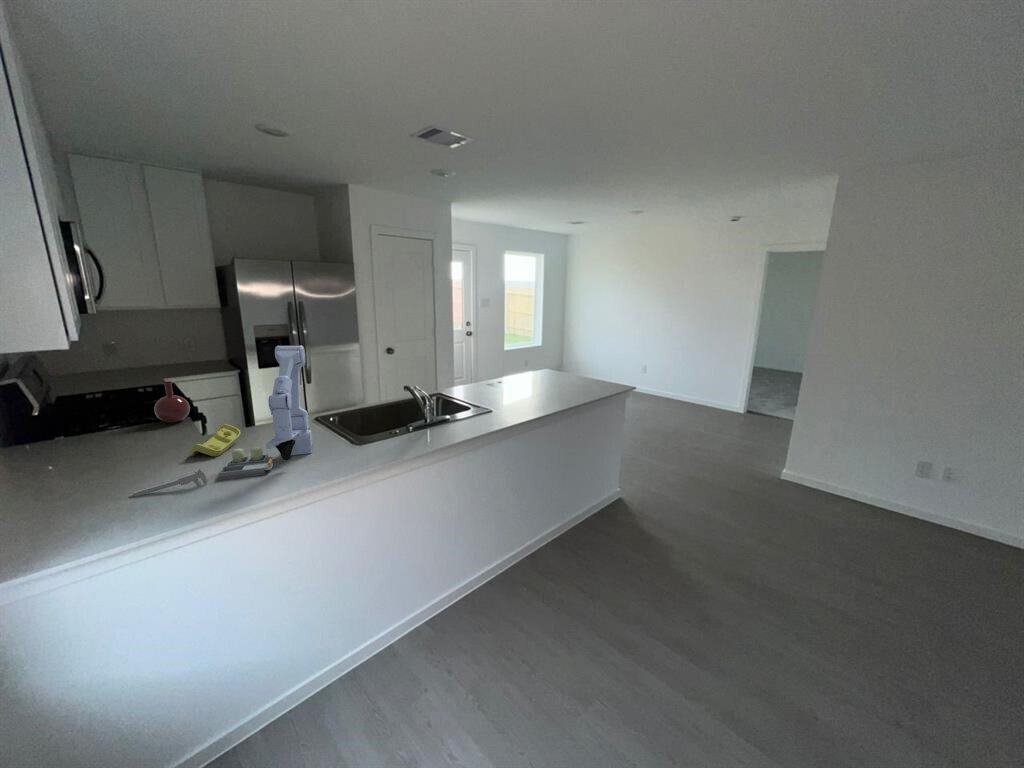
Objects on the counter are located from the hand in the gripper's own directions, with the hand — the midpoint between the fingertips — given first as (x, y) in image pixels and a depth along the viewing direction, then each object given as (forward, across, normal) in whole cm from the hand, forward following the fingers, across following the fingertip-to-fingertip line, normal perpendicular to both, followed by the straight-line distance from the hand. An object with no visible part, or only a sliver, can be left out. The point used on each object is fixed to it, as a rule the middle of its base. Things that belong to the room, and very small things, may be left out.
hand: (286, 459), depth 149 cm
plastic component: (+4, -7, -41) cm, 42 cm away
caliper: (+4, +25, -24) cm, 35 cm away
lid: (+2, +5, -8) cm, 10 cm away
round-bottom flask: (+4, -26, -90) cm, 93 cm away
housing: (+4, +4, -14) cm, 15 cm away
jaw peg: (+2, +4, -18) cm, 19 cm away
